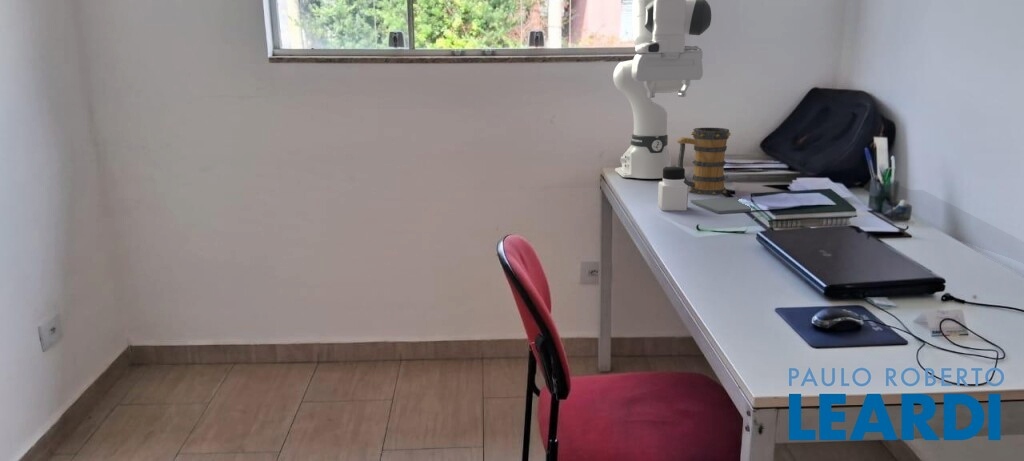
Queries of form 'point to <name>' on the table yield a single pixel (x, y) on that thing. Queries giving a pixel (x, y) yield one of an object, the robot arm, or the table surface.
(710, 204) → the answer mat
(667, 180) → the medicine bottle
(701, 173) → the mug
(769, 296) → the table surface
